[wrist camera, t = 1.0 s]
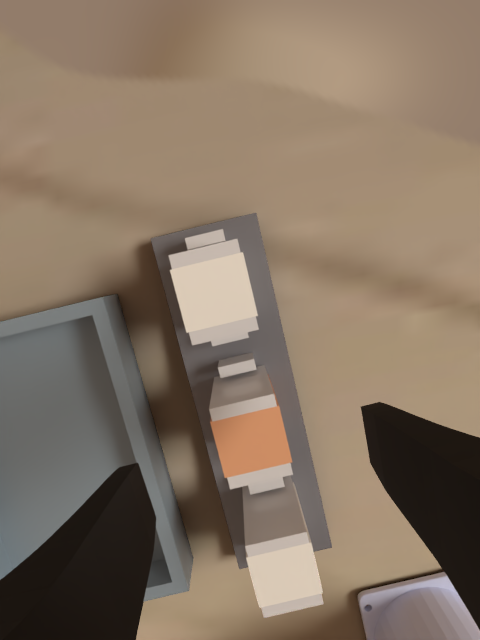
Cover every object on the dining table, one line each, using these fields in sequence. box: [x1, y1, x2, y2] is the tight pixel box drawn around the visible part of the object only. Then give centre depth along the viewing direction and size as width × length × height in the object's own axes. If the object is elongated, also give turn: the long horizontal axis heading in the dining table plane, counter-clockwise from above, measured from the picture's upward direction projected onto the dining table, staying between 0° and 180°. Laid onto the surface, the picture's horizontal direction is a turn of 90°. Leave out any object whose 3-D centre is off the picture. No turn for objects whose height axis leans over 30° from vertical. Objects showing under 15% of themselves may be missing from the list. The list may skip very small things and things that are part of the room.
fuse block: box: [151, 213, 332, 569], centre depth 21 cm, size 21×6×3 cm, turn 14°
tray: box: [0, 294, 193, 601], centre depth 22 cm, size 18×12×2 cm, turn 13°
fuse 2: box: [242, 475, 324, 618], centre depth 20 cm, size 4×3×5 cm
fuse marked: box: [209, 365, 293, 489], centre depth 19 cm, size 4×3×5 cm
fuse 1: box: [168, 239, 259, 345], centre depth 18 cm, size 4×3×5 cm
